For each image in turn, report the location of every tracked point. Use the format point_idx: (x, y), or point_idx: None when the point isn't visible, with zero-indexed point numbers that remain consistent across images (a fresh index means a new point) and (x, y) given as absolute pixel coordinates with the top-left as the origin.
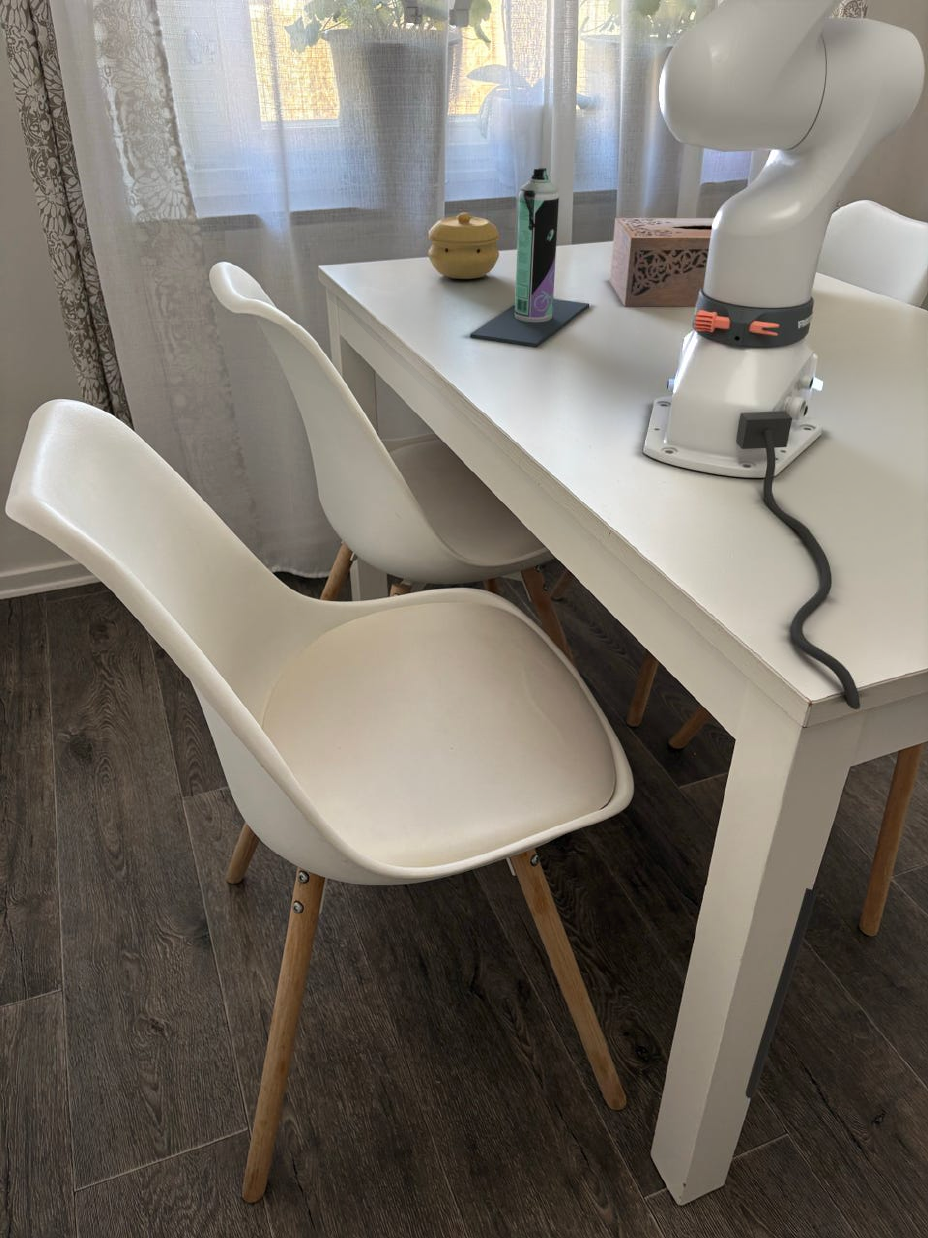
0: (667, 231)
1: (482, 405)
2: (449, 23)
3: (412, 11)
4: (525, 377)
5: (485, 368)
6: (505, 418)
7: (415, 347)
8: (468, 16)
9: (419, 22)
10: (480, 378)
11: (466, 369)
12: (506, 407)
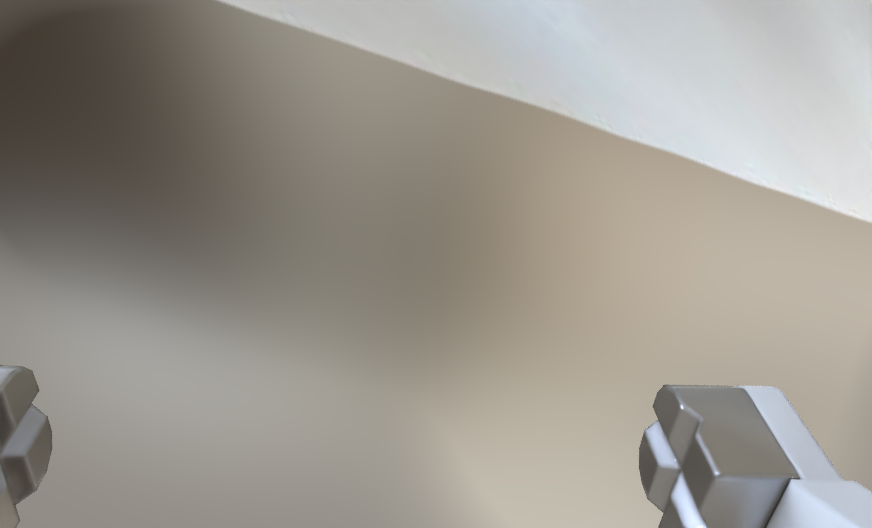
0: None
1: (745, 172)
2: (645, 481)
3: (1, 521)
4: (730, 19)
5: (636, 45)
6: (807, 180)
7: (442, 71)
8: (808, 432)
9: (31, 389)
10: (664, 91)
11: (612, 78)
12: (783, 149)
